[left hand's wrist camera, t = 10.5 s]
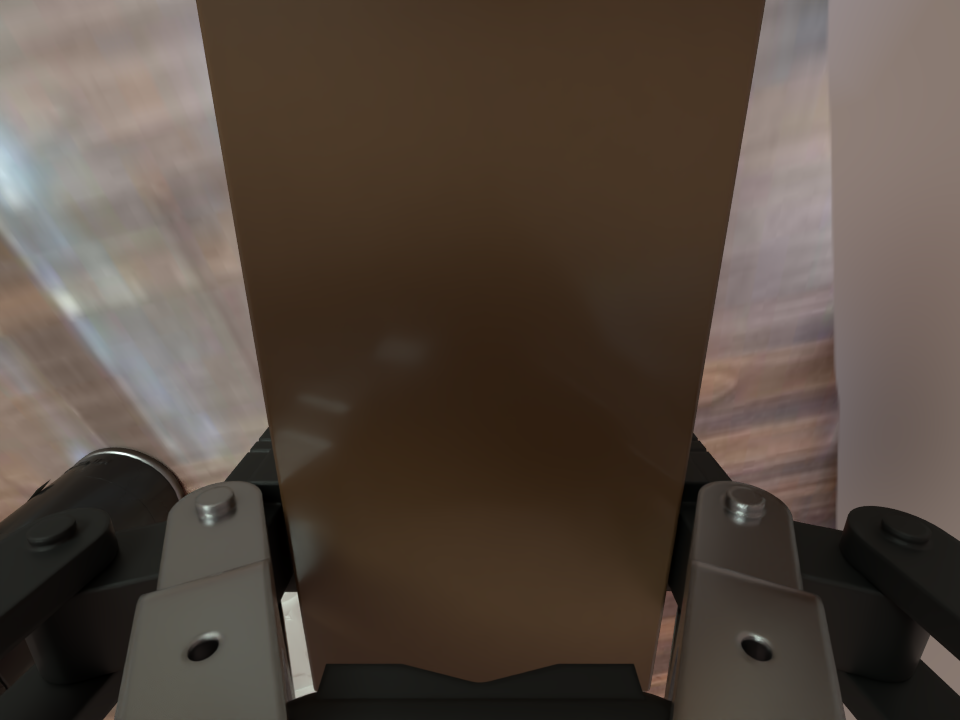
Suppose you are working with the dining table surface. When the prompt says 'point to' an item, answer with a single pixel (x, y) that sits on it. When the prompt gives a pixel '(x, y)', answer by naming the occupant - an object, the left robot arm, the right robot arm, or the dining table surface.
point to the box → (481, 307)
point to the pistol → (297, 645)
